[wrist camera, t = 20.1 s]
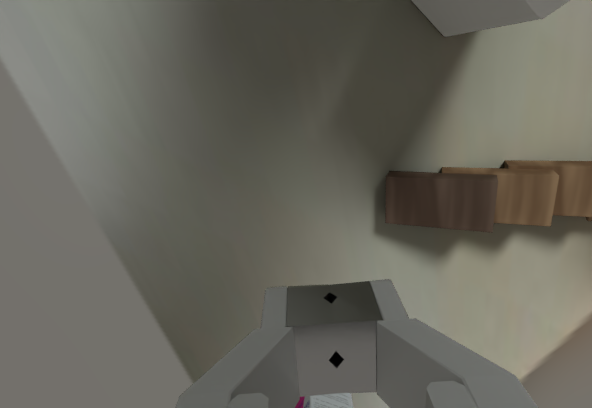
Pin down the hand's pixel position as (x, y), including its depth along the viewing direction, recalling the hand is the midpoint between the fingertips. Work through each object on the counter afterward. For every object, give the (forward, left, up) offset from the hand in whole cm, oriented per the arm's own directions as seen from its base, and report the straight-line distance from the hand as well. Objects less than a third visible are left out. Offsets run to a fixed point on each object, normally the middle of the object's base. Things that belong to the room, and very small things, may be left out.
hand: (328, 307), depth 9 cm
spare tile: (+8, +8, -30) cm, 32 cm away
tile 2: (+8, +14, -30) cm, 34 cm away
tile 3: (+8, +20, -30) cm, 37 cm away
